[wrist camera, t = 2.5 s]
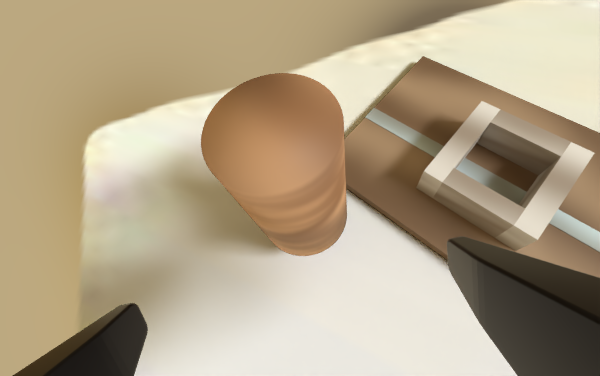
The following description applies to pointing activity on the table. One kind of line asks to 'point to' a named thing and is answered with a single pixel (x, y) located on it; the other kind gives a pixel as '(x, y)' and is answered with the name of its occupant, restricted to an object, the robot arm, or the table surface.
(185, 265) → the table surface
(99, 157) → the table surface
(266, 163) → the tapered tan cup
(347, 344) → the table surface
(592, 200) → the brown board with rail
